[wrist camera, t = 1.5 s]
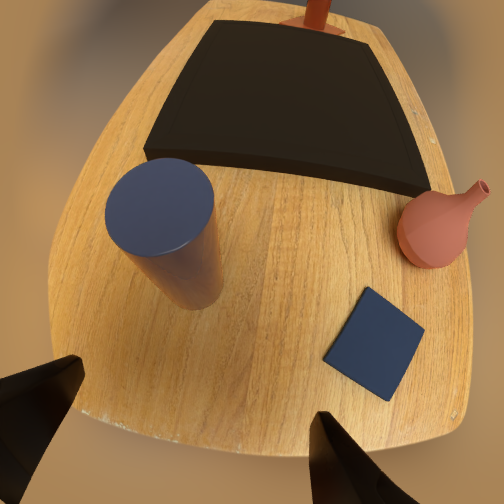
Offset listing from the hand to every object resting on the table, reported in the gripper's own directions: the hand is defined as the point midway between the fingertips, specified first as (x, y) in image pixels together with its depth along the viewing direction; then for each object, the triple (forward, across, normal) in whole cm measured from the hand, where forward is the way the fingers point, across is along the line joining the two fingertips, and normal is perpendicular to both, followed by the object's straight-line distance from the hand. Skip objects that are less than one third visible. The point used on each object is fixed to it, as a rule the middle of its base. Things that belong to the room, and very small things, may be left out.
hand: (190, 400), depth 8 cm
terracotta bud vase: (+20, -19, -4) cm, 28 cm away
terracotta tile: (+53, -6, -48) cm, 72 cm away
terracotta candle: (+52, -6, -49) cm, 72 cm away
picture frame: (+35, -3, -25) cm, 43 cm away
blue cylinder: (+15, +3, +2) cm, 16 cm away
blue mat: (+13, -14, +4) cm, 20 cm away
